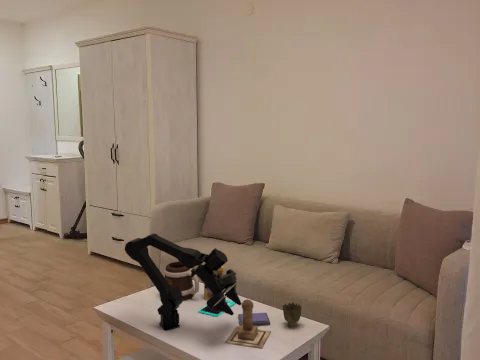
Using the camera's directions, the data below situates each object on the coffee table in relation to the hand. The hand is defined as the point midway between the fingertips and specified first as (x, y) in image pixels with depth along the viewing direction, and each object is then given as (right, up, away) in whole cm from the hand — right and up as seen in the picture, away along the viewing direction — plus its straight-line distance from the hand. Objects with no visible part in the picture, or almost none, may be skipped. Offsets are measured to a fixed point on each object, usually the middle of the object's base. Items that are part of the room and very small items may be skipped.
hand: (236, 309), depth 160 cm
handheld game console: (-9, -8, +27) cm, 29 cm away
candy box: (-11, -6, +38) cm, 40 cm away
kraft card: (+4, -10, 0) cm, 11 cm away
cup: (+22, -9, +9) cm, 26 cm away
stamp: (+4, -10, 0) cm, 11 cm away
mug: (-26, -6, +39) cm, 48 cm away
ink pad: (+7, -9, +14) cm, 17 cm away
